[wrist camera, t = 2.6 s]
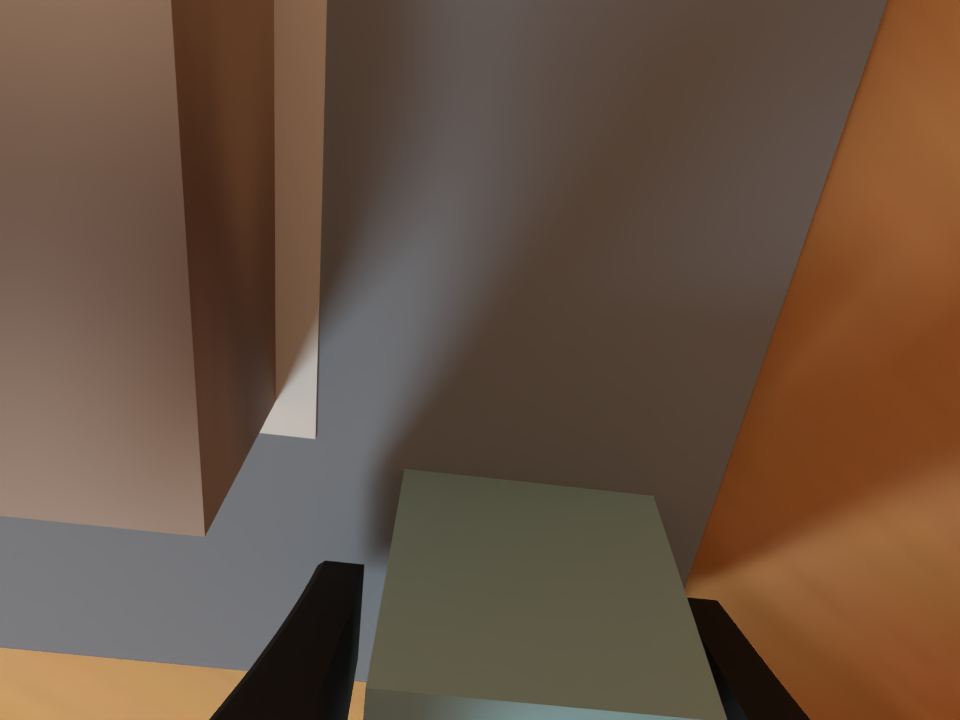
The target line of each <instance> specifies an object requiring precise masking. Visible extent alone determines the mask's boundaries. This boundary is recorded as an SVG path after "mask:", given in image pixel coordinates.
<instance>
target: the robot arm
mask: <svg viewBox="0 0 960 720" xmlns="http://www.w3.org/2000/svg"><path fill="white" fill-rule="evenodd" d="M364 565H365V564H355V563H345V562H335V561H326V560H325V561H323V562H322V563H320V564H319V565H317V567H316V569H315V571H314V573H313V575H312V577H311V579H310V580H309V582H308V584H307V586H306V587H305V589H304V591H303V592H302V594H301V596H300V597H299V599H298V601H297V602H296V604H295V605H294V607H293V609H292V610H291V612H290V613H289V615H288V616H287V618H286V619H285V621H284V622H283V624H282V625H281V627H280V628H279V630H278V631H277V632H276V634H275V635H274V637H273V638H272V639H271V641H270V642H269V643H268V645H267V646H266V648H265V649H264V650H263V652H262V653H261V654H260V656H259V657H258V659H257V660H256V661H255V663H254V664H253V665H252V667H251V668H250V670H249V671H248V672H247V673H246V675H245V676H244V677H243V679H242V680H241V681H240V683H239V684H238V685H237V686H236V687H235V689H234V690H233V691H232V692H231V694H230V695H229V696H228V697H227V698H226V700H225V701H224V702H223V703H222V705H221V706H220V707H219V708H218V710H217V711H216V712H215V713H214V714H213V716H212V717H211V718H210V719H209V720H347V719H348V713H349V707H350V702H351V696H352V690H353V684H354V679H355V673H356V667H357V661H358V652H359V637H360V623H361V608H362V594H363V579H364ZM687 599H688V602H689V605H690V608H691V611H692V614H693V617H694V620H695V623H696V626H697V630H698V633H699V636H700V639H701V642H702V645H703V648H704V651H705V654H706V657H707V660H708V663H709V666H710V669H711V672H712V675H713V678H714V681H715V684H716V687H717V690H718V693H719V696H720V699H721V702H722V705H723V708H724V711H725V714H726V718H727V720H810V719H809V718H808V716H807V715H806V714H805V713H804V712H803V710H802V709H801V708H800V707H799V705H798V704H797V703H796V702H795V701H794V699H793V698H792V697H791V696H790V694H789V693H788V692H787V690H786V689H785V688H784V687H783V685H782V684H781V683H780V682H779V680H778V679H777V678H776V676H775V675H774V674H773V673H772V671H771V670H770V669H769V667H768V666H767V665H766V664H765V662H764V661H763V660H762V658H761V657H760V656H759V654H758V653H757V652H756V651H755V649H754V648H753V647H752V645H751V644H750V643H749V641H748V640H747V639H746V638H745V636H744V635H743V634H742V632H741V631H740V630H739V628H738V627H737V626H736V624H735V623H734V622H733V620H732V619H731V618H730V617H729V615H728V614H727V613H726V611H725V610H724V609H723V607H722V606H721V605H720V604H719V602H718V601H716V600H706V599H696V598H687Z"/></svg>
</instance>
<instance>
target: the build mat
mask: <svg viewBox="0 0 960 720" xmlns="http://www.w3.org/2000/svg"><path fill="white" fill-rule="evenodd" d="M887 2H888V0H274V120H275V332H276V402H275V404H274V406H273V408H272V409H271V411H270V413H269V415H268V417H267V419H266V421H265V423H264V425H263V427H262V429H261V431H260V432H259V434H258V436H257V438H256V440H255V442H254V444H253V446H252V448H251V450H250V452H249V454H248V455H247V457H246V459H245V461H244V463H243V465H242V467H241V469H240V471H239V473H238V475H237V477H236V478H235V480H234V482H233V484H232V486H231V488H230V490H229V492H228V494H227V496H226V498H225V500H224V501H223V503H222V505H221V507H220V509H219V511H218V513H217V515H216V517H215V519H214V521H213V523H212V524H211V526H210V528H209V530H208V532H207V534H206V536H205V537H201V536H191V535H181V534H172V533H162V532H152V531H143V530H133V529H123V528H114V527H104V526H94V525H85V524H75V523H65V522H56V521H46V520H36V519H26V518H17V517H7V516H0V648H11V649H21V650H32V651H42V652H53V653H64V654H74V655H85V656H95V657H106V658H117V659H127V660H138V661H148V662H159V663H169V664H180V665H191V666H201V667H212V668H222V669H233V670H243V671H249V670H250V668H251V667H252V665H253V664H254V663H255V661H256V660H257V659H258V657H259V656H260V654H261V653H262V652H263V650H264V649H265V648H266V646H267V645H268V643H269V642H270V641H271V639H272V638H273V637H274V635H275V634H276V632H277V631H278V630H279V628H280V627H281V625H282V624H283V622H284V621H285V619H286V618H287V616H288V615H289V613H290V612H291V610H292V609H293V607H294V605H295V604H296V602H297V601H298V599H299V597H300V596H301V594H302V592H303V591H304V589H305V587H306V586H307V584H308V582H309V580H310V579H311V577H312V575H313V573H314V571H315V569H316V567H317V565H319V564H320V563H322V562H323V561H325V560H326V561H335V562H345V563H355V564H365V565H364V579H363V594H362V608H361V623H360V637H359V652H358V661H357V667H356V673H355V679H354V681H360V682H367V678H368V673H369V667H370V661H371V656H372V650H373V644H374V639H375V633H376V627H377V622H378V616H379V610H380V605H381V599H382V593H383V588H384V582H385V576H386V571H387V565H388V559H389V554H390V548H391V542H392V537H393V531H394V525H395V520H396V514H397V508H398V503H399V497H400V491H401V486H402V480H403V474H404V469H412V470H421V471H430V472H439V473H449V474H458V475H467V476H476V477H485V478H494V479H503V480H513V481H522V482H531V483H540V484H549V485H558V486H568V487H577V488H586V489H595V490H604V491H613V492H623V493H632V494H641V495H650V496H654V499H655V502H656V505H657V508H658V511H659V514H660V517H661V520H662V523H663V526H664V529H665V532H666V535H667V539H668V542H669V545H670V548H671V551H672V554H673V557H674V560H675V563H676V566H677V569H678V572H679V575H680V578H681V581H682V584H683V587H684V589H685V586H686V583H687V580H688V577H689V575H690V572H691V569H692V566H693V563H694V560H695V557H696V554H697V551H698V549H699V546H700V543H701V540H702V537H703V534H704V531H705V528H706V525H707V522H708V520H709V517H710V514H711V511H712V508H713V505H714V502H715V499H716V496H717V494H718V491H719V488H720V485H721V482H722V479H723V476H724V473H725V470H726V467H727V465H728V462H729V459H730V456H731V453H732V450H733V447H734V444H735V441H736V439H737V436H738V433H739V430H740V427H741V424H742V421H743V418H744V415H745V412H746V410H747V407H748V404H749V401H750V398H751V395H752V392H753V389H754V386H755V384H756V381H757V378H758V375H759V372H760V369H761V366H762V363H763V360H764V358H765V355H766V352H767V349H768V346H769V343H770V340H771V337H772V334H773V331H774V329H775V326H776V323H777V320H778V317H779V314H780V311H781V308H782V305H783V303H784V300H785V297H786V294H787V291H788V288H789V285H790V282H791V279H792V276H793V274H794V271H795V268H796V265H797V262H798V259H799V256H800V253H801V250H802V248H803V245H804V242H805V239H806V236H807V233H808V230H809V227H810V224H811V221H812V219H813V216H814V213H815V210H816V207H817V204H818V201H819V198H820V195H821V193H822V190H823V187H824V184H825V181H826V178H827V175H828V172H829V169H830V167H831V164H832V161H833V158H834V155H835V152H836V149H837V146H838V143H839V140H840V138H841V135H842V132H843V129H844V126H845V123H846V120H847V117H848V114H849V112H850V109H851V106H852V103H853V100H854V97H855V94H856V91H857V88H858V85H859V83H860V80H861V77H862V74H863V71H864V68H865V65H866V62H867V59H868V57H869V54H870V51H871V48H872V45H873V42H874V39H875V36H876V33H877V30H878V28H879V25H880V22H881V19H882V16H883V13H884V10H885V7H886V4H887Z"/></svg>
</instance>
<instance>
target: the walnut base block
mask: <svg viewBox="0 0 960 720" xmlns="http://www.w3.org/2000/svg"><path fill="white" fill-rule="evenodd" d="M275 402H276V332H275V120H274V0H0V516H7V517H17V518H26V519H36V520H46V521H56V522H65V523H75V524H85V525H94V526H104V527H114V528H123V529H133V530H143V531H152V532H162V533H172V534H181V535H191V536H201V537H205V536H206V534H207V532H208V530H209V528H210V526H211V524H212V523H213V521H214V519H215V517H216V515H217V513H218V511H219V509H220V507H221V505H222V503H223V501H224V500H225V498H226V496H227V494H228V492H229V490H230V488H231V486H232V484H233V482H234V480H235V478H236V477H237V475H238V473H239V471H240V469H241V467H242V465H243V463H244V461H245V459H246V457H247V455H248V454H249V452H250V450H251V448H252V446H253V444H254V442H255V440H256V438H257V436H258V434H259V432H260V431H261V429H262V427H263V425H264V423H265V421H266V419H267V417H268V415H269V413H270V411H271V409H272V408H273V406H274V404H275Z"/></svg>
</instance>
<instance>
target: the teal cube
mask: <svg viewBox="0 0 960 720" xmlns="http://www.w3.org/2000/svg"><path fill="white" fill-rule="evenodd" d="M363 720H727V718H726V714H725V711H724V708H723V705H722V702H721V699H720V696H719V693H718V690H717V687H716V684H715V681H714V678H713V675H712V672H711V669H710V666H709V663H708V660H707V657H706V654H705V651H704V648H703V645H702V642H701V639H700V636H699V633H698V630H697V626H696V623H695V620H694V617H693V614H692V611H691V608H690V605H689V602H688V599H687V596H686V593H685V590H684V587H683V584H682V581H681V578H680V575H679V572H678V569H677V566H676V563H675V560H674V557H673V554H672V551H671V548H670V545H669V542H668V539H667V535H666V532H665V529H664V526H663V523H662V520H661V517H660V514H659V511H658V508H657V505H656V502H655V499H654V496H650V495H641V494H632V493H623V492H613V491H604V490H595V489H586V488H577V487H568V486H558V485H549V484H540V483H531V482H522V481H513V480H503V479H494V478H485V477H476V476H467V475H458V474H449V473H439V472H430V471H421V470H412V469H404V474H403V480H402V486H401V491H400V497H399V503H398V508H397V514H396V520H395V525H394V531H393V537H392V542H391V548H390V554H389V559H388V565H387V571H386V576H385V582H384V588H383V593H382V599H381V605H380V610H379V616H378V622H377V627H376V633H375V639H374V644H373V650H372V656H371V661H370V667H369V673H368V678H367V684H366V691H365V704H364V717H363Z"/></svg>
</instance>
